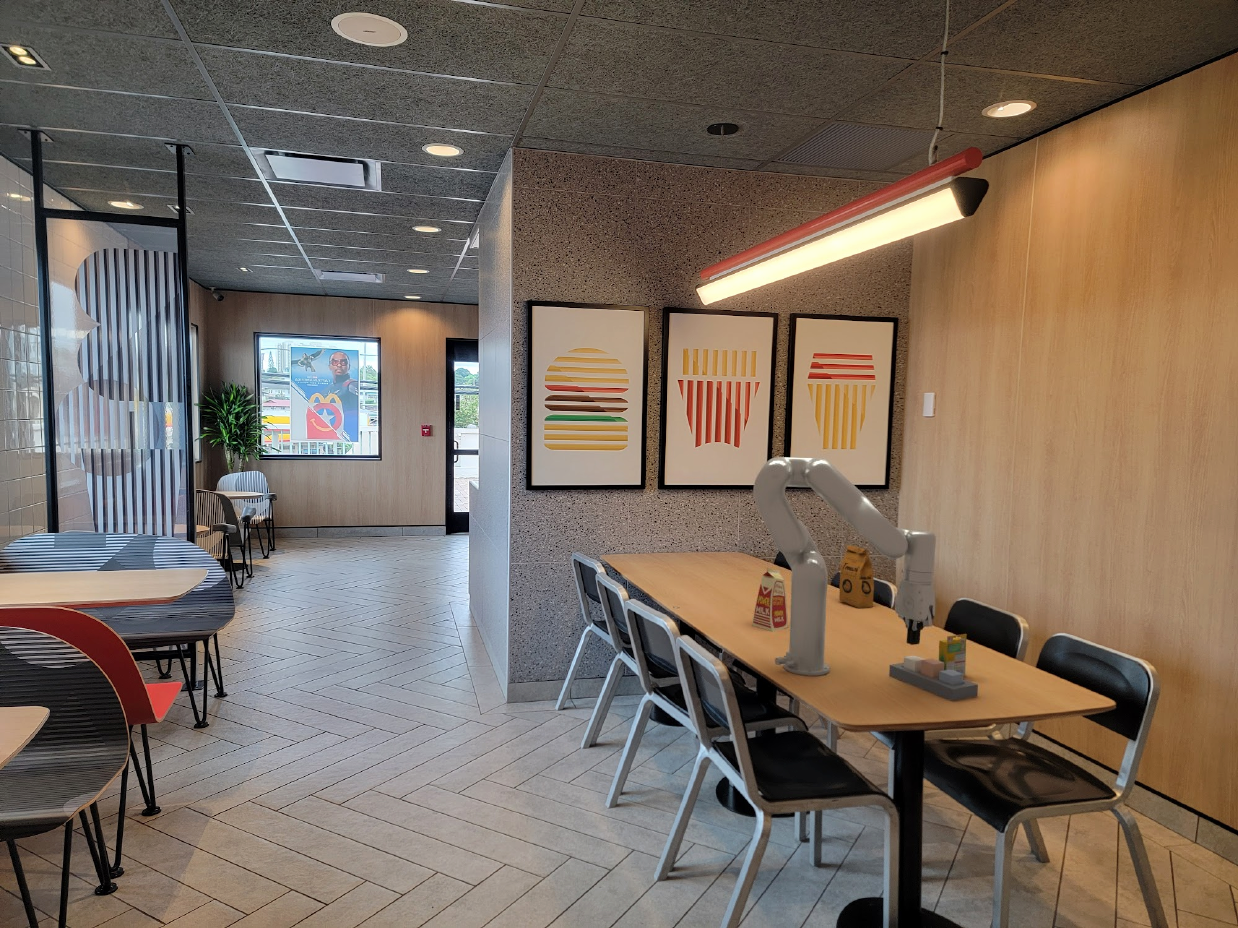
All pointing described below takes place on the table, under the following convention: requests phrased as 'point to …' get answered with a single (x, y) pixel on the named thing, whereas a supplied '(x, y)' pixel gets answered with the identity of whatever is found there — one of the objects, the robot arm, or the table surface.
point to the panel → (934, 683)
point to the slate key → (951, 677)
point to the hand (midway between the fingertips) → (912, 643)
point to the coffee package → (856, 578)
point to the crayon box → (953, 653)
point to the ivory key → (913, 663)
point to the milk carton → (771, 603)
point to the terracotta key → (931, 667)
